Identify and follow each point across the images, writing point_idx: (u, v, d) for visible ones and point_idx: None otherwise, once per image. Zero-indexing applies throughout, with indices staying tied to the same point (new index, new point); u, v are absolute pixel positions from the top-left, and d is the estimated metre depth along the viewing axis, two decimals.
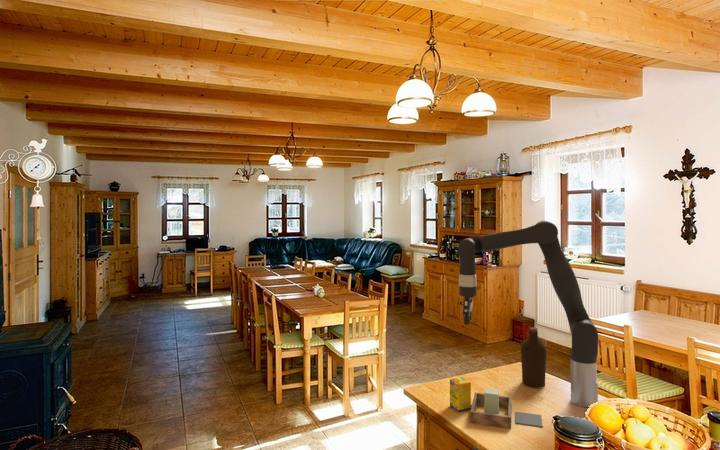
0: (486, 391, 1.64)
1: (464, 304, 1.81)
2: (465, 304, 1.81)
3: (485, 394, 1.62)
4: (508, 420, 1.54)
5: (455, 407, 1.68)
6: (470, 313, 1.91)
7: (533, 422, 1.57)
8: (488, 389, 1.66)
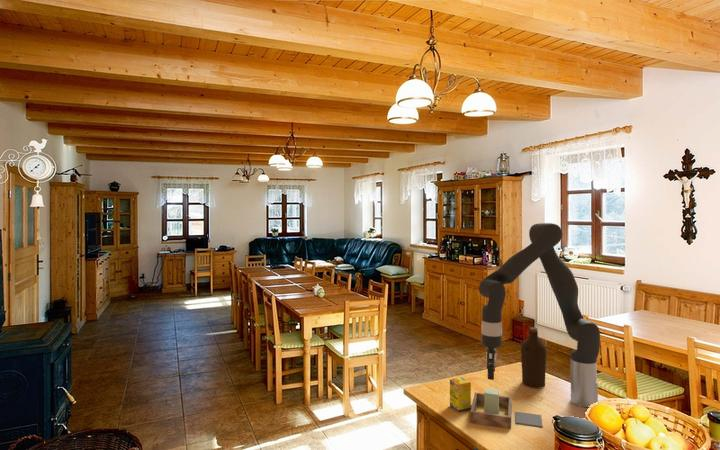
0: (486, 391, 1.64)
1: (488, 357, 1.57)
2: (489, 357, 1.57)
3: (485, 394, 1.62)
4: (508, 420, 1.54)
5: (455, 407, 1.68)
6: (493, 364, 1.67)
7: (533, 422, 1.57)
8: (488, 389, 1.66)
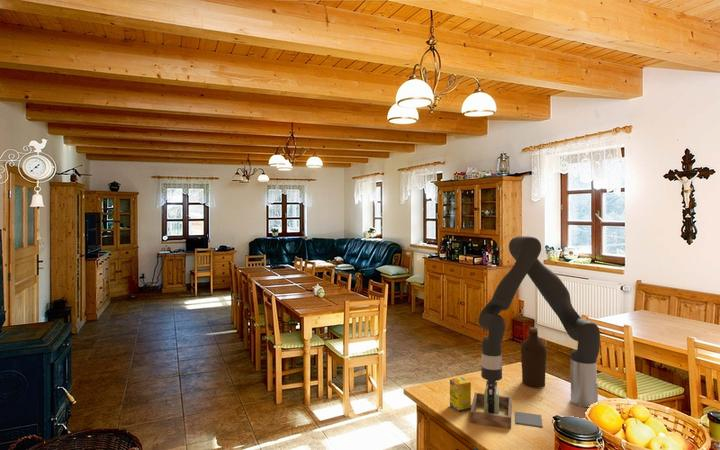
0: (486, 391, 1.64)
1: (488, 393, 1.58)
2: (489, 393, 1.58)
3: (485, 394, 1.62)
4: (508, 420, 1.54)
5: (455, 407, 1.68)
6: None
7: (533, 422, 1.57)
8: None
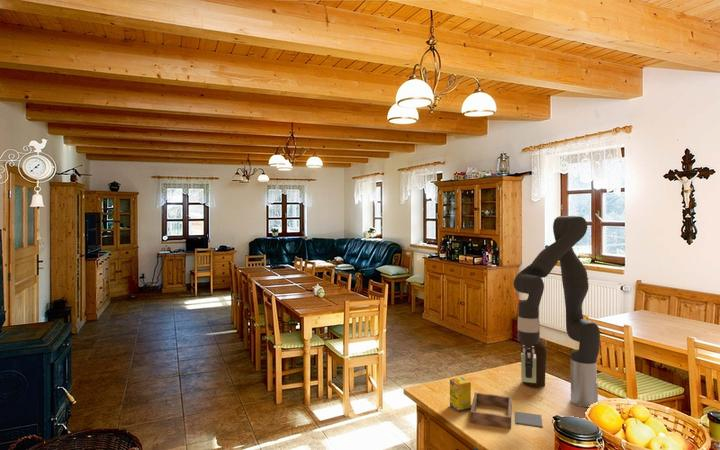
0: (523, 355, 1.59)
1: (527, 356, 1.53)
2: (528, 356, 1.53)
3: (522, 358, 1.58)
4: (508, 420, 1.54)
5: (455, 407, 1.68)
6: None
7: (533, 422, 1.57)
8: None
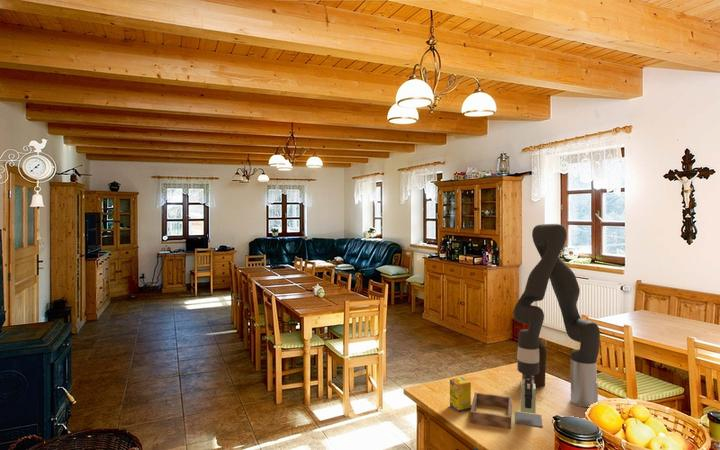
0: (522, 385, 1.59)
1: (526, 387, 1.54)
2: (527, 387, 1.53)
3: (521, 388, 1.58)
4: (508, 420, 1.54)
5: (455, 407, 1.68)
6: None
7: (533, 422, 1.57)
8: None
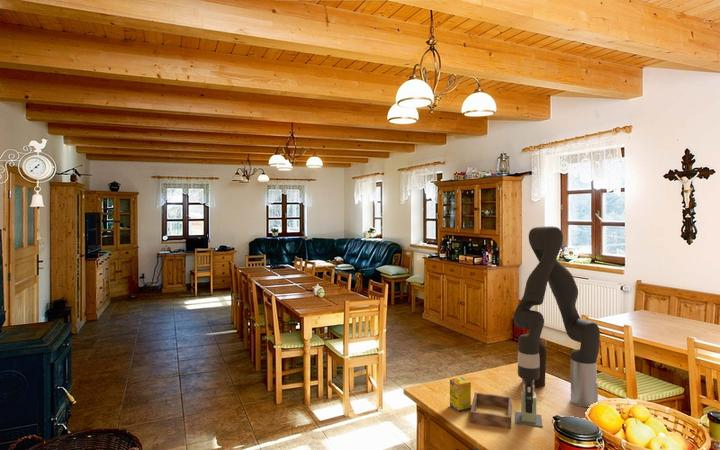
0: (523, 394, 1.59)
1: (527, 391, 1.53)
2: (528, 390, 1.53)
3: (522, 397, 1.58)
4: (508, 420, 1.54)
5: (455, 407, 1.68)
6: None
7: (533, 422, 1.57)
8: None
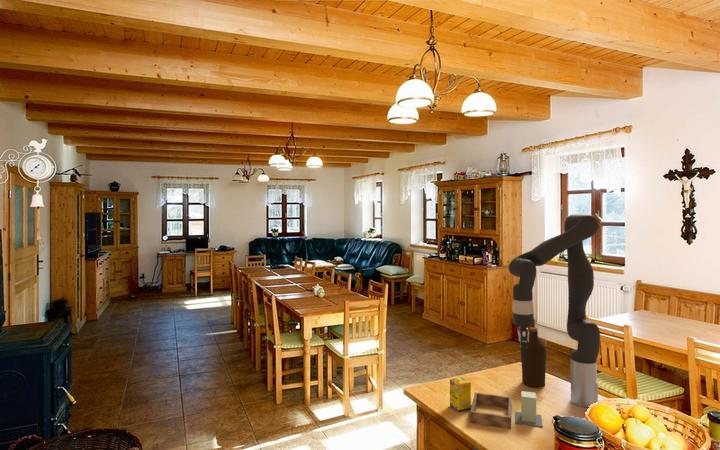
0: (523, 394, 1.59)
1: (522, 335, 1.58)
2: (523, 334, 1.58)
3: (522, 397, 1.58)
4: (508, 420, 1.54)
5: (455, 407, 1.68)
6: (525, 343, 1.68)
7: (533, 422, 1.57)
8: (524, 392, 1.61)
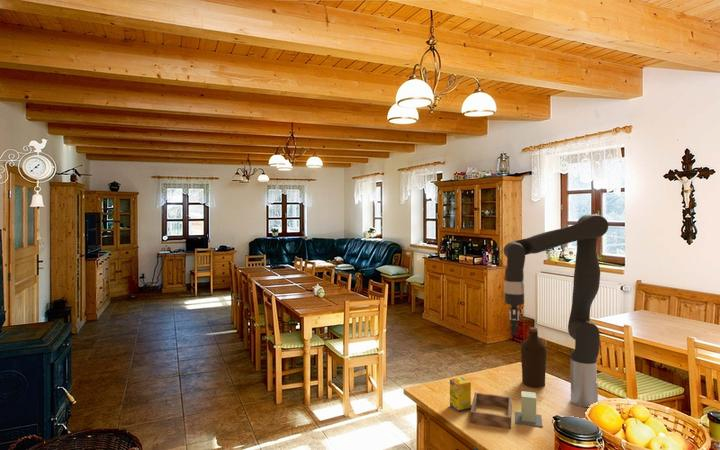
0: (523, 394, 1.59)
1: (512, 313, 1.69)
2: (513, 312, 1.69)
3: (522, 397, 1.58)
4: (508, 420, 1.54)
5: (455, 407, 1.68)
6: (516, 322, 1.79)
7: (533, 422, 1.57)
8: (524, 392, 1.61)
